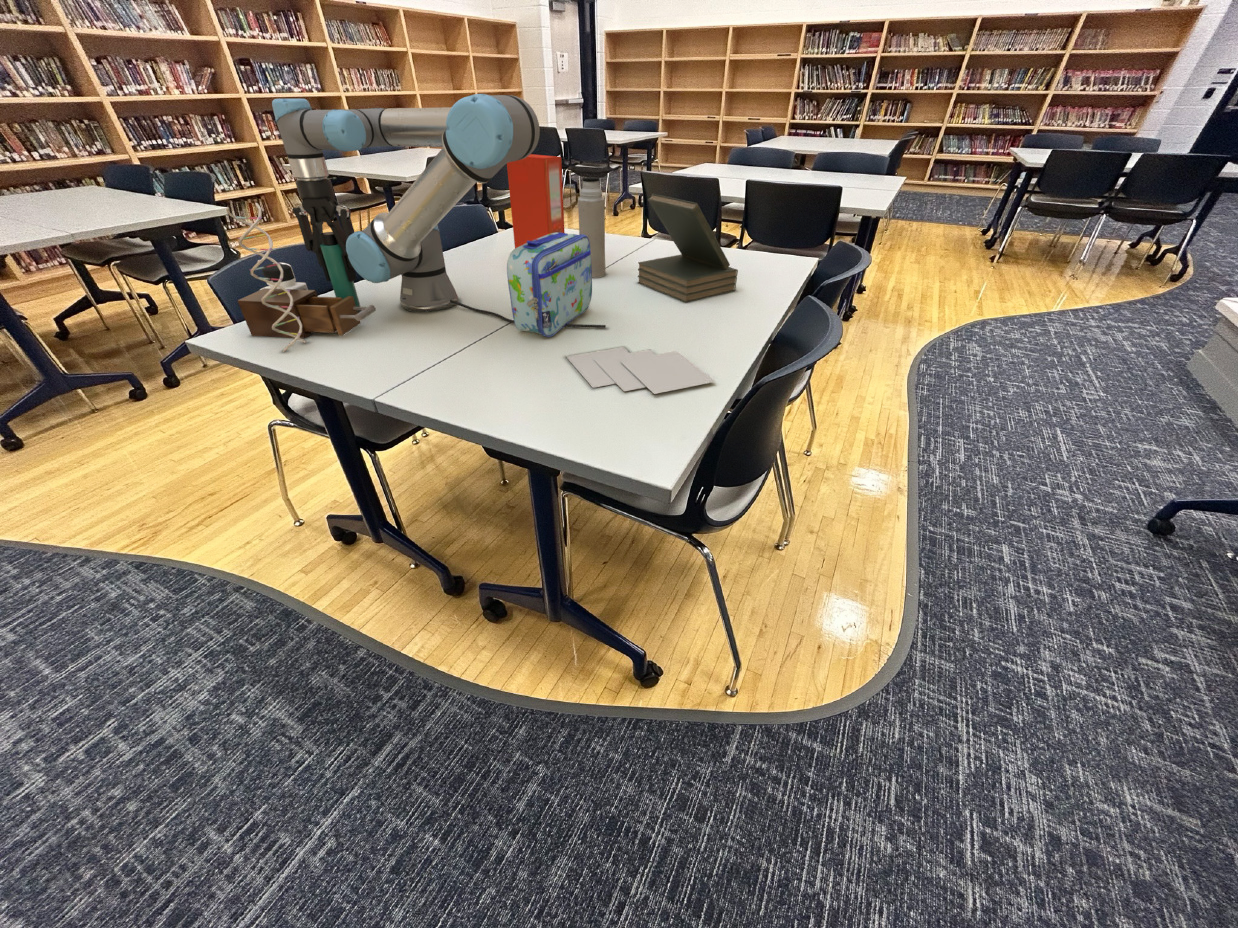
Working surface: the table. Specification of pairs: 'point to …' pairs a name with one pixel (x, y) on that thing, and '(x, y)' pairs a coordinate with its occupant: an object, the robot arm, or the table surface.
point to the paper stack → (639, 370)
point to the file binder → (536, 197)
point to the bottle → (337, 268)
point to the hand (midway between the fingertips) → (341, 279)
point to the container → (288, 277)
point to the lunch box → (550, 282)
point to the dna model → (269, 278)
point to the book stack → (687, 255)
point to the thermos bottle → (593, 222)
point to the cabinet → (273, 312)
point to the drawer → (331, 314)
